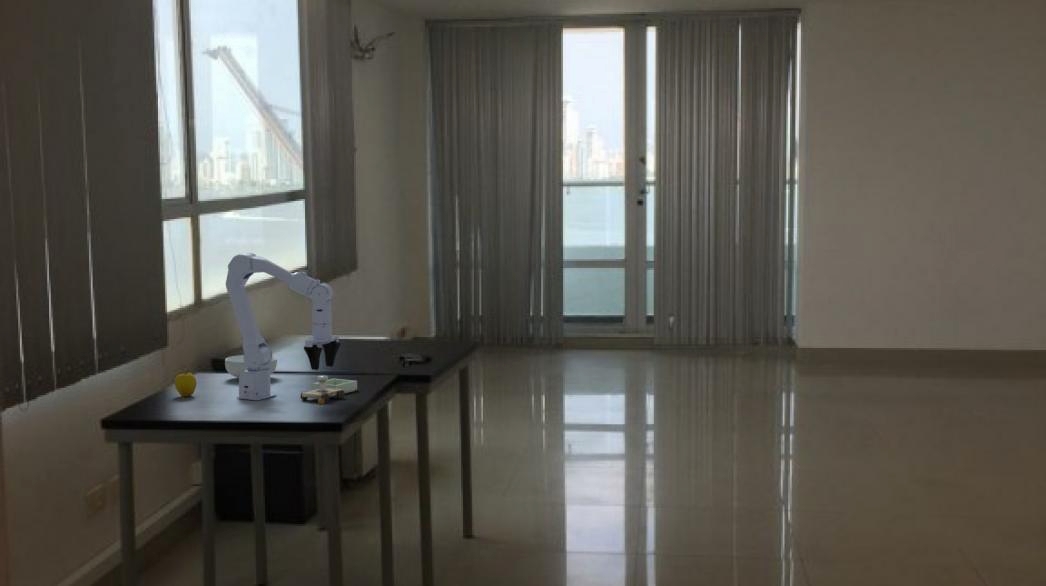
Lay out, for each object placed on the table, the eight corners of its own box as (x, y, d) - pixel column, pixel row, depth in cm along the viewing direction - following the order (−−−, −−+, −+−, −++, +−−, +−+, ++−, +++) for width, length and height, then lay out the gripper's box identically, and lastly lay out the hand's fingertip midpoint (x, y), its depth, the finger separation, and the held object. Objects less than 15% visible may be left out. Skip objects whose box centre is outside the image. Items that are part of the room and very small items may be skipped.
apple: (196, 394, 365) (195, 368, 364) (197, 397, 359) (196, 371, 358) (174, 395, 363) (174, 369, 362) (175, 398, 357) (174, 372, 356)
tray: (336, 395, 365) (336, 385, 364) (312, 392, 369) (312, 383, 368) (357, 390, 374) (357, 380, 374) (334, 387, 378) (334, 378, 378)
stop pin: (323, 400, 356) (323, 377, 355) (315, 399, 357) (315, 376, 356) (330, 398, 358) (330, 376, 358) (321, 397, 360) (321, 375, 359)
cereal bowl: (230, 384, 384) (229, 362, 383) (221, 376, 399) (220, 356, 398) (282, 381, 391) (281, 360, 390) (271, 374, 406) (271, 353, 405)
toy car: (321, 403, 350) (321, 395, 350) (297, 401, 354) (297, 392, 354) (345, 397, 361) (345, 389, 360) (322, 395, 365) (322, 386, 364)
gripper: (318, 326, 348) (319, 372, 349) (346, 321, 361) (347, 365, 362) (299, 325, 351) (299, 370, 353) (327, 320, 364) (328, 364, 366)
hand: (322, 368), depth 358 cm, fingers open, 7 cm apart
